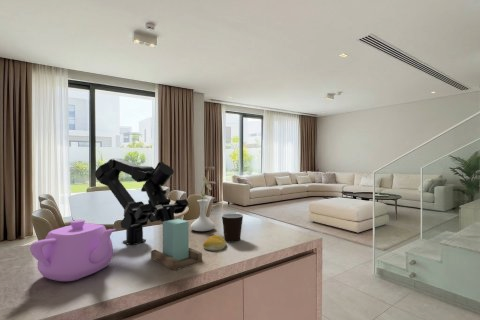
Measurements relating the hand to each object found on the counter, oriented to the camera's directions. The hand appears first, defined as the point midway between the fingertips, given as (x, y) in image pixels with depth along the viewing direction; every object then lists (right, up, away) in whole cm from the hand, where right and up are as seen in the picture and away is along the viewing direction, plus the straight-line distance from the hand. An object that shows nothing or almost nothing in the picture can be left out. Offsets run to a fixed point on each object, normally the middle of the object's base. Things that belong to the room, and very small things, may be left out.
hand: (172, 228), depth 89 cm
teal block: (+2, -9, -3) cm, 10 cm away
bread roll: (+14, -10, +9) cm, 19 cm away
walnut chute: (+2, -9, -3) cm, 10 cm away
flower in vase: (+6, -9, +33) cm, 35 cm away
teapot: (-24, -10, -12) cm, 29 cm away
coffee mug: (+21, -9, +19) cm, 29 cm away
